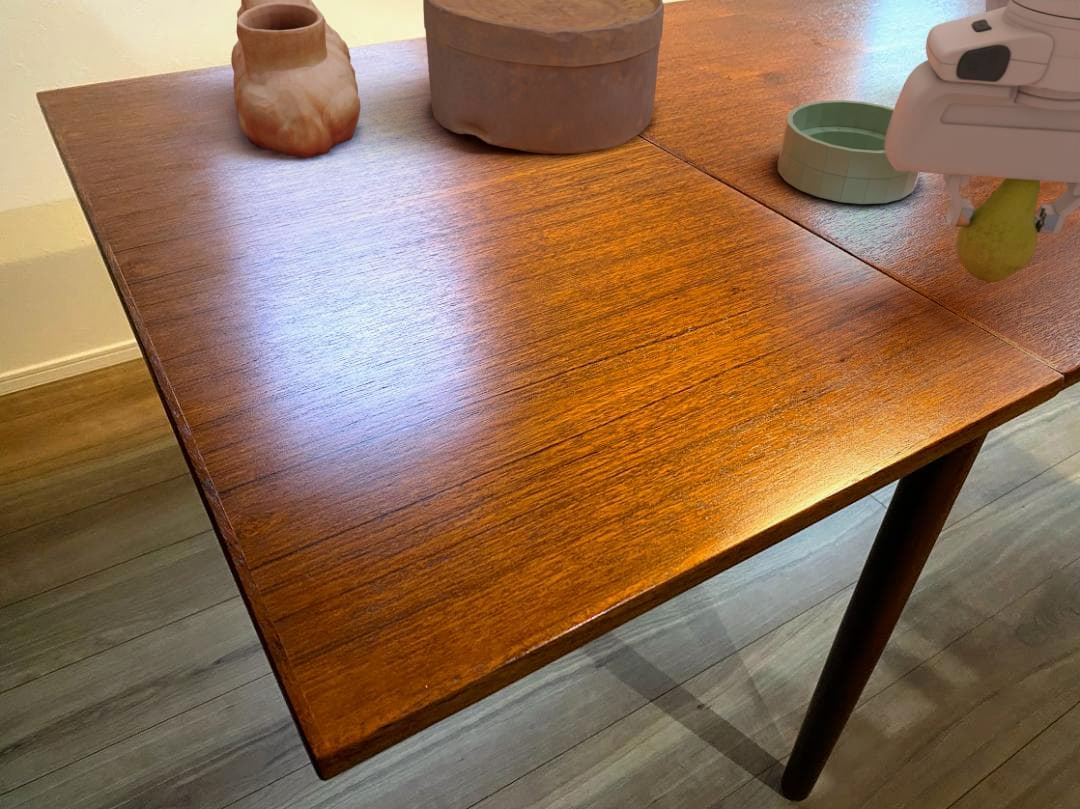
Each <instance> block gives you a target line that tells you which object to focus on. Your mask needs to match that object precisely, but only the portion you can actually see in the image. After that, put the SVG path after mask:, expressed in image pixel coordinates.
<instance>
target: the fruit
mask: <svg viewBox="0 0 1080 809" xmlns="http://www.w3.org/2000/svg"><path fill="white" fill-rule="evenodd" d="M1040 182H1041V181H1037V180H1023V179H1009V178H1004V180H1003V181H1002V182H1001V183H1000V185H998V187H997V188H996V189H995V190H994V191H993V192H992V193H991V194H990V195H989V197H988V198H987V199H986V200H985V201H983V203H982V204H980V205H979V206H977V208H975V210H974V213H973V216H972V217H971V218H970V221H971V222H970V225H969V226H968V227H960V228H959V231H958V232H957V236H956V242H955V243H956V244H955V249H956V255H957V257H958V259H959V261H960V263H961V265H962V266H963V268H964V269H965V271H967V272H968V274H969V275H971V276H972V277H973V278H976V279H977V280H980V281H983V282H986V283H990V284H991V283H992V284H993V283H999V282H1001V281H1003V280H1005V279H1008V278H1009V277H1011V276H1014V275H1015V274H1017V273H1019V272H1020V271H1021V270H1023V268H1025V267H1026V266H1027V264H1028V263H1029V262H1030V261H1031V259H1032V258H1033V256H1034V254H1035V252H1036V248H1037V245H1038V232H1037V229H1036V226H1035V218H1036V216H1035V215H1036V208H1037V204H1038V199H1039V194H1040V187H1041V186H1040V185H1041V184H1040Z"/></svg>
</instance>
